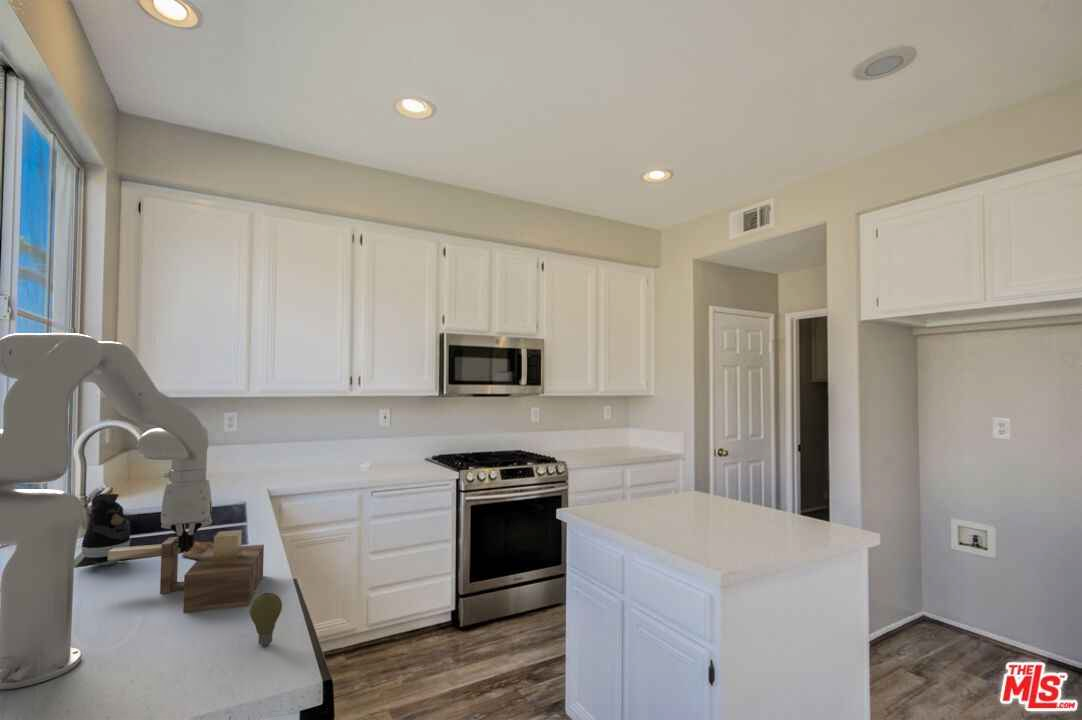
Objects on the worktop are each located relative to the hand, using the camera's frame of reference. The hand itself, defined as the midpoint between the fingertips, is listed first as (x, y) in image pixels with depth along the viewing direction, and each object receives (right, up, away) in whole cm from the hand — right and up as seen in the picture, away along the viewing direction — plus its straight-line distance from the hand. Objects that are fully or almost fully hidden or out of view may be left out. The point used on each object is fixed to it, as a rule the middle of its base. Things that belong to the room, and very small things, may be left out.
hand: (186, 550), depth 136 cm
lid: (+12, -3, -3) cm, 13 cm away
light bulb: (+35, -8, -30) cm, 46 cm away
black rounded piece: (-32, -10, +15) cm, 37 cm away
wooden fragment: (-13, -11, +28) cm, 33 cm away
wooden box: (+8, -9, -5) cm, 13 cm away
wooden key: (-8, 0, -3) cm, 9 cm away
